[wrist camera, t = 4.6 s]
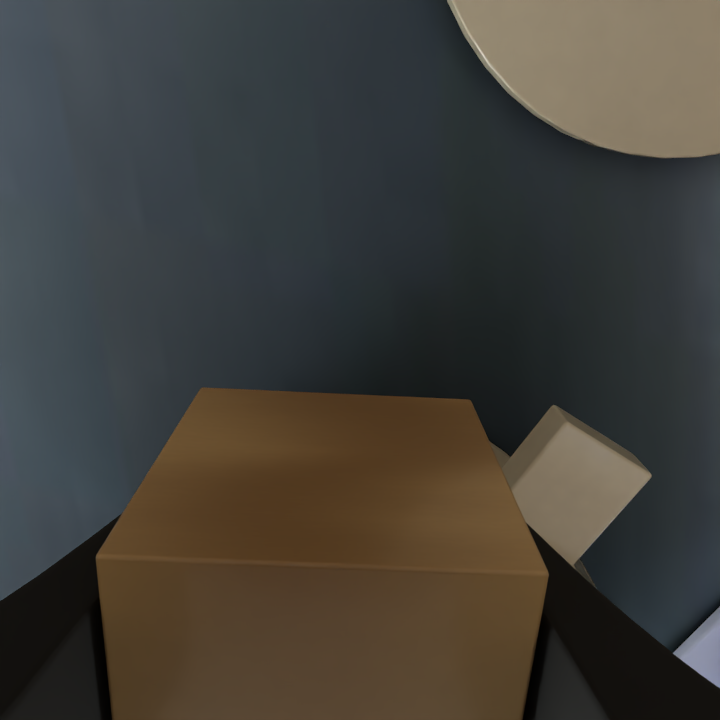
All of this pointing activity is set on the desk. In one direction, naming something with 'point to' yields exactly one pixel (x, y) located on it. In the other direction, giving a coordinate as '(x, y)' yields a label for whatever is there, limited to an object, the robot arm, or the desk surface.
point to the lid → (608, 68)
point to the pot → (570, 482)
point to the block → (321, 566)
